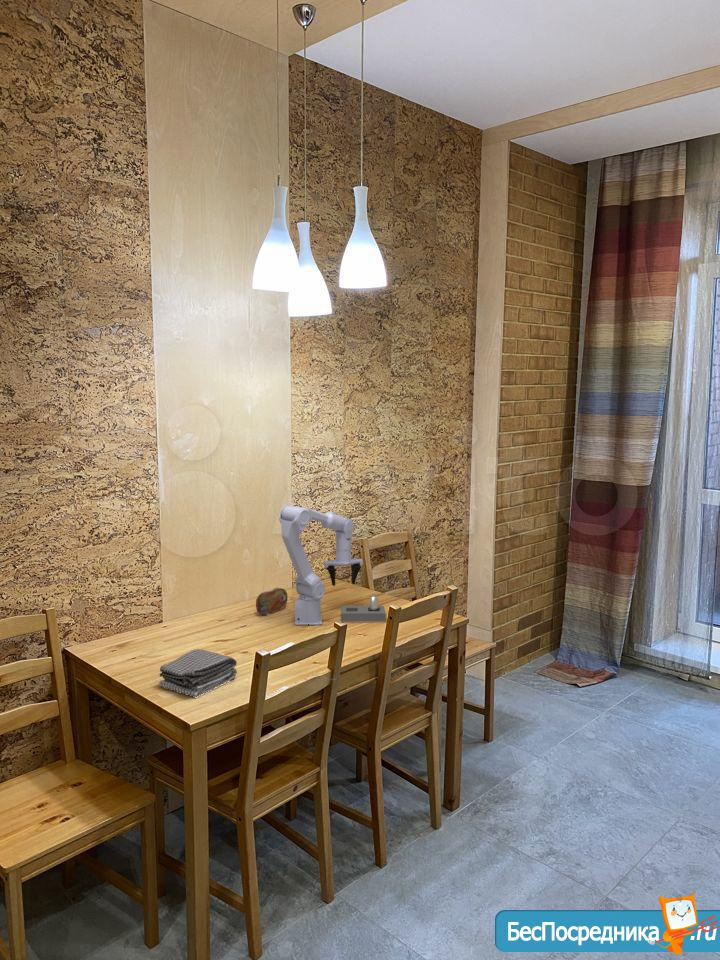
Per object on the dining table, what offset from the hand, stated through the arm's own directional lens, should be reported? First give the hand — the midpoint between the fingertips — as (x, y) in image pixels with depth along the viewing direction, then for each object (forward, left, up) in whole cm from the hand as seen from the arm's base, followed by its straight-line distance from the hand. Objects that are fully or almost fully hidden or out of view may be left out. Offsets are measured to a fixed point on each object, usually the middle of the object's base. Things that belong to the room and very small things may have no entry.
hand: (343, 584), depth 284 cm
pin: (+11, -9, -10) cm, 17 cm away
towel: (-43, -65, -11) cm, 79 cm away
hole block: (+7, -9, -10) cm, 15 cm away
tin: (-27, 0, -11) cm, 29 cm away
